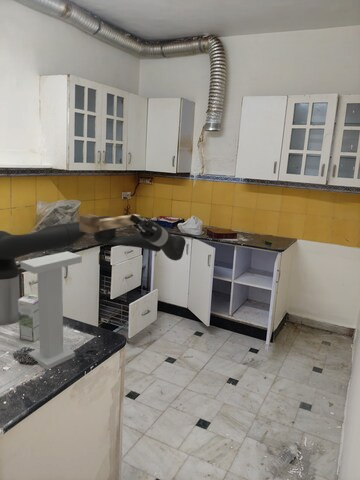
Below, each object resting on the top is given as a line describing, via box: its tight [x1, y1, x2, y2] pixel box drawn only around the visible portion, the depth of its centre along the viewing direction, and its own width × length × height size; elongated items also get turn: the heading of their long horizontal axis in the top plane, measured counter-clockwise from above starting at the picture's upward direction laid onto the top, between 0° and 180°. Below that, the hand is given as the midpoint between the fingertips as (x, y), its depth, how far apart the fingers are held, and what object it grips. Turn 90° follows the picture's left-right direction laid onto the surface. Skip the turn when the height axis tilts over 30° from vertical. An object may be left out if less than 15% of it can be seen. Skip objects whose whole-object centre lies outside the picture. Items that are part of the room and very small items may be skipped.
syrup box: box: [18, 294, 40, 343], centre depth 129 cm, size 6×6×14 cm
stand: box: [20, 251, 83, 371], centre depth 117 cm, size 16×10×32 cm, turn 143°
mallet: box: [78, 213, 141, 234], centre depth 129 cm, size 24×5×5 cm, turn 143°
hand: (127, 216), depth 135 cm, fingers closed on mallet, 3 cm apart
